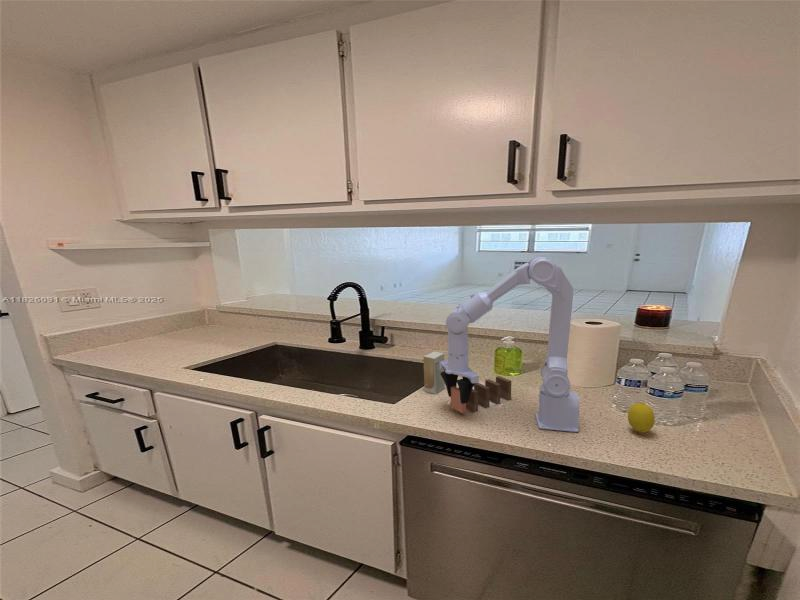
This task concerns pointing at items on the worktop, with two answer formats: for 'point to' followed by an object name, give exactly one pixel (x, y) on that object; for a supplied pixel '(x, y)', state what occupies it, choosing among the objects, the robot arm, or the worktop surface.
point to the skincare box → (433, 372)
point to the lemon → (641, 417)
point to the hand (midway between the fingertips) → (458, 399)
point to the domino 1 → (457, 400)
